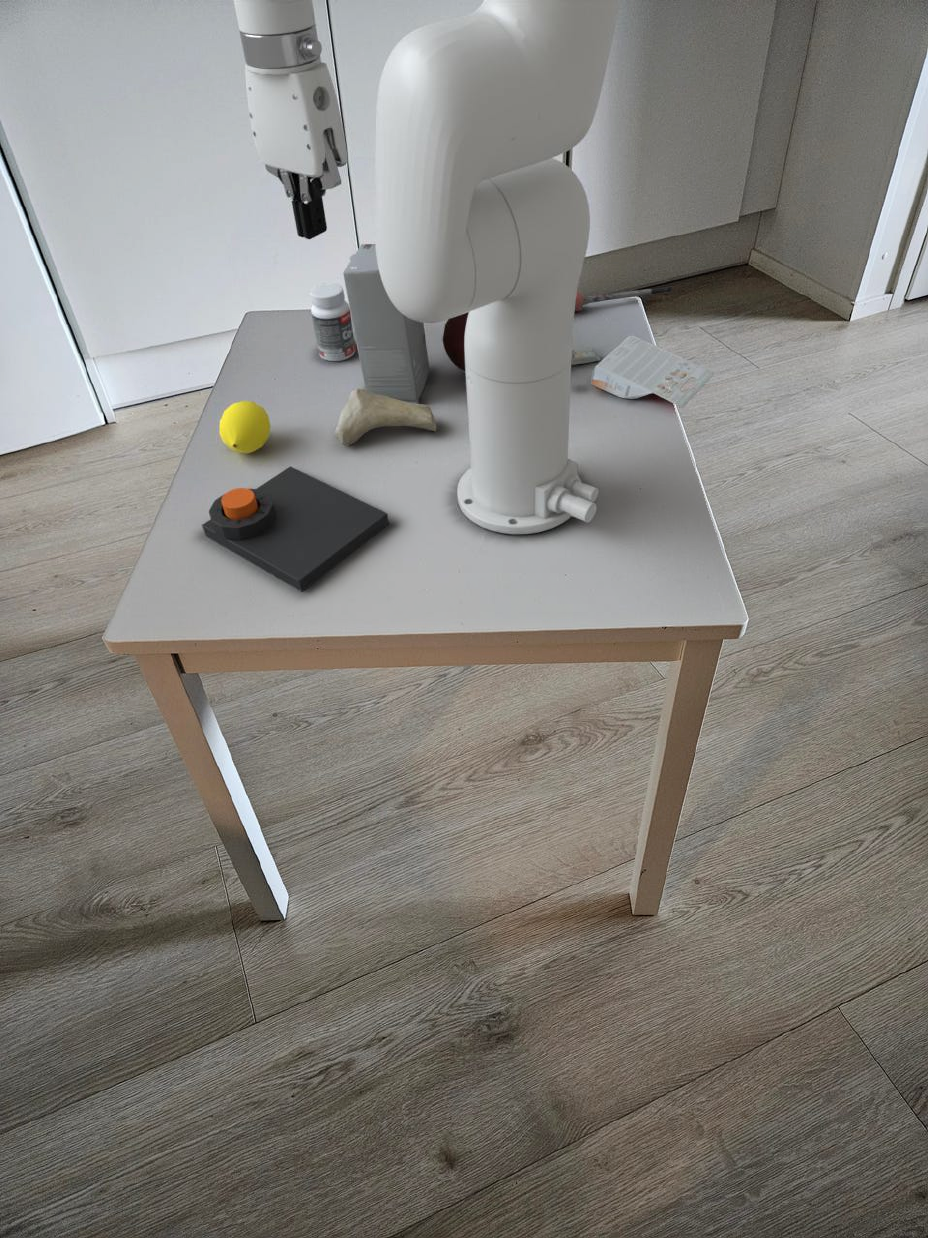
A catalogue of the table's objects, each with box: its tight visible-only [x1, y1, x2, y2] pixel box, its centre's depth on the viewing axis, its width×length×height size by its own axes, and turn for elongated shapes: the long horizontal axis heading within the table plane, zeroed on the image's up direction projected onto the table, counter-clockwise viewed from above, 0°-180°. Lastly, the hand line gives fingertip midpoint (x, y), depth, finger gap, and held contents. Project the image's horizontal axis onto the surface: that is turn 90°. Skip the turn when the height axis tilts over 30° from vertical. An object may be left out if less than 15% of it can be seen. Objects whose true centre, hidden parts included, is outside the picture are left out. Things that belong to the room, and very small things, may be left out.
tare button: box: [221, 487, 258, 520], centre depth 85 cm, size 3×3×2 cm
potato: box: [442, 312, 469, 373], centre depth 102 cm, size 9×12×9 cm
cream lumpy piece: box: [334, 388, 438, 446], centre depth 97 cm, size 11×6×5 cm, turn 101°
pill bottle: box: [309, 282, 357, 362], centre depth 109 cm, size 5×5×8 cm
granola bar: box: [571, 348, 602, 366], centre depth 106 cm, size 7×1×3 cm
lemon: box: [218, 400, 271, 454], centre depth 95 cm, size 7×5×5 cm
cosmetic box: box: [342, 243, 430, 404], centre depth 100 cm, size 8×7×16 cm
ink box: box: [590, 334, 715, 409], centre depth 102 cm, size 3×9×12 cm
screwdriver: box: [575, 286, 673, 312], centre depth 116 cm, size 25×3×3 cm
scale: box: [201, 466, 390, 592], centre depth 86 cm, size 14×12×3 cm
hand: (312, 233), depth 100 cm, fingers closed
